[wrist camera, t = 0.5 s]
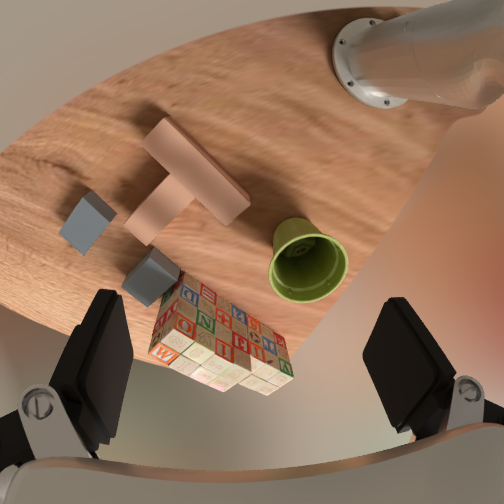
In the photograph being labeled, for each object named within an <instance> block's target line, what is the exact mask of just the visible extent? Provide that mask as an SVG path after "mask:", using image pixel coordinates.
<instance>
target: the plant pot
mask: <svg viewBox="0 0 504 504" xmlns="http://www.w3.org/2000/svg"><path fill="white" fill-rule="evenodd" d="M303 248H306V249H305V250H304V251H302V252H299V253H297V251H299V250H301V249H303ZM347 269H348V257H347V254H346V251H345V249H344V247H343V246H342V245H341V244H340V243H339V242H338V241H337V240H336V239H334V238H333V237H331V236H329V235H326V234H323V233H321V232H320V231H319V230H318V229H317V228H316V227H315V226H314V225H313V224H312V223H311V222H310V221H308V220H306V219H302V218H298V217H294V218H290V219H287V220H285V221H283V222H282V223H280V224H279V225H278V227H277V228H276V230H275V232H274V235H273V258H272V260H271V263H270V266H269V281H270V284H271V286H272V288H273V290H274V291H275V292H276V293H277V294H278V295H279V296H280V297H282V298H283V299H285V300H288V301H291V302H295V303H309V302H314V301H317V300H320V299H322V298H324V297H326V296H328V295H329V294H331V293H332V292H333V291H334V290H335V289H336V288H337V287H338V286H339V285H340V284H341V282H342V281H343V279H344V278H345V275H346V272H347Z"/></svg>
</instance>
